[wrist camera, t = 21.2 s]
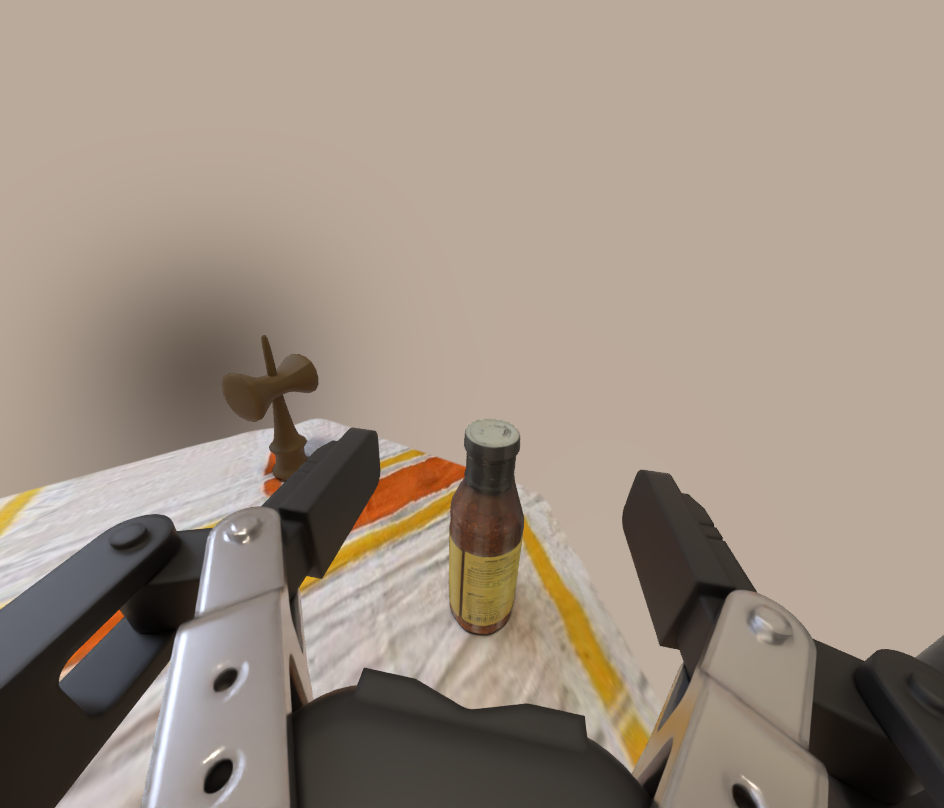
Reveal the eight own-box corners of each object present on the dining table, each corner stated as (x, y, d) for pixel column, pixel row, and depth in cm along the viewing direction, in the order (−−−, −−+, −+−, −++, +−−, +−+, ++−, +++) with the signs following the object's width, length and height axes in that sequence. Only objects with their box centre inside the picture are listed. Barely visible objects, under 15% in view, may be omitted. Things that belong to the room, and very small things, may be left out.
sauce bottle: (523, 602, 34) (561, 434, 24) (484, 655, 29) (512, 473, 20) (473, 563, 37) (489, 403, 28) (432, 604, 33) (435, 431, 24)
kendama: (248, 485, 45) (202, 341, 36) (304, 448, 53) (279, 322, 44) (281, 499, 44) (243, 351, 34) (334, 458, 52) (315, 329, 42)
